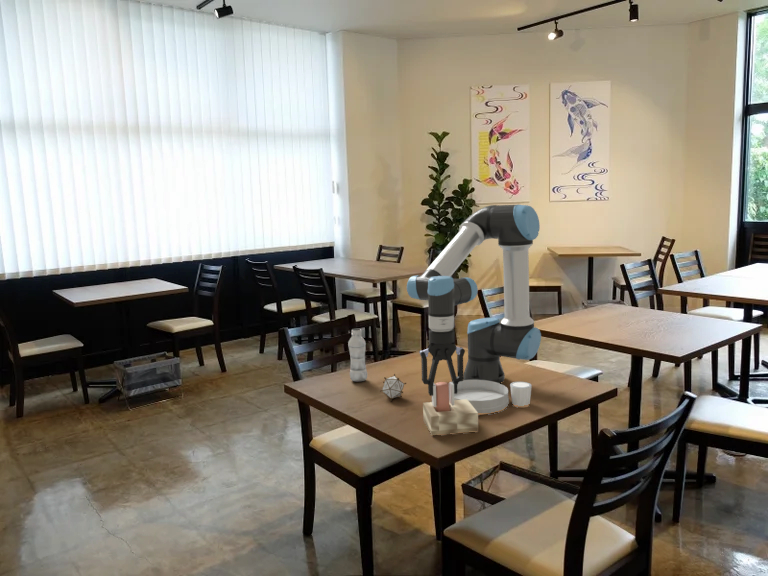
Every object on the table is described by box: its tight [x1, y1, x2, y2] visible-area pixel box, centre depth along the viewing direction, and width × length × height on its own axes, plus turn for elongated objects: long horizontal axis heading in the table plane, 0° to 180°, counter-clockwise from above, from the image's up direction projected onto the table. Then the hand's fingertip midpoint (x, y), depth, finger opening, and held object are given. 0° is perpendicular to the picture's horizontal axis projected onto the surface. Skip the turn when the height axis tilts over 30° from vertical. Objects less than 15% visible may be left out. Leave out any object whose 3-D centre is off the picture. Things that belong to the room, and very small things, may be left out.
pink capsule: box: [434, 381, 450, 412], centre depth 183 cm, size 4×4×12 cm
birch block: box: [422, 399, 479, 436], centre depth 184 cm, size 14×12×6 cm
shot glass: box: [509, 381, 533, 406], centre depth 200 cm, size 7×7×7 cm
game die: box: [379, 373, 407, 402], centre depth 210 cm, size 9×8×10 cm
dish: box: [448, 379, 510, 413], centre depth 203 cm, size 22×22×5 cm
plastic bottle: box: [347, 328, 368, 383], centre depth 230 cm, size 6×7×20 cm
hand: (443, 404), depth 183 cm, fingers open, 5 cm apart
